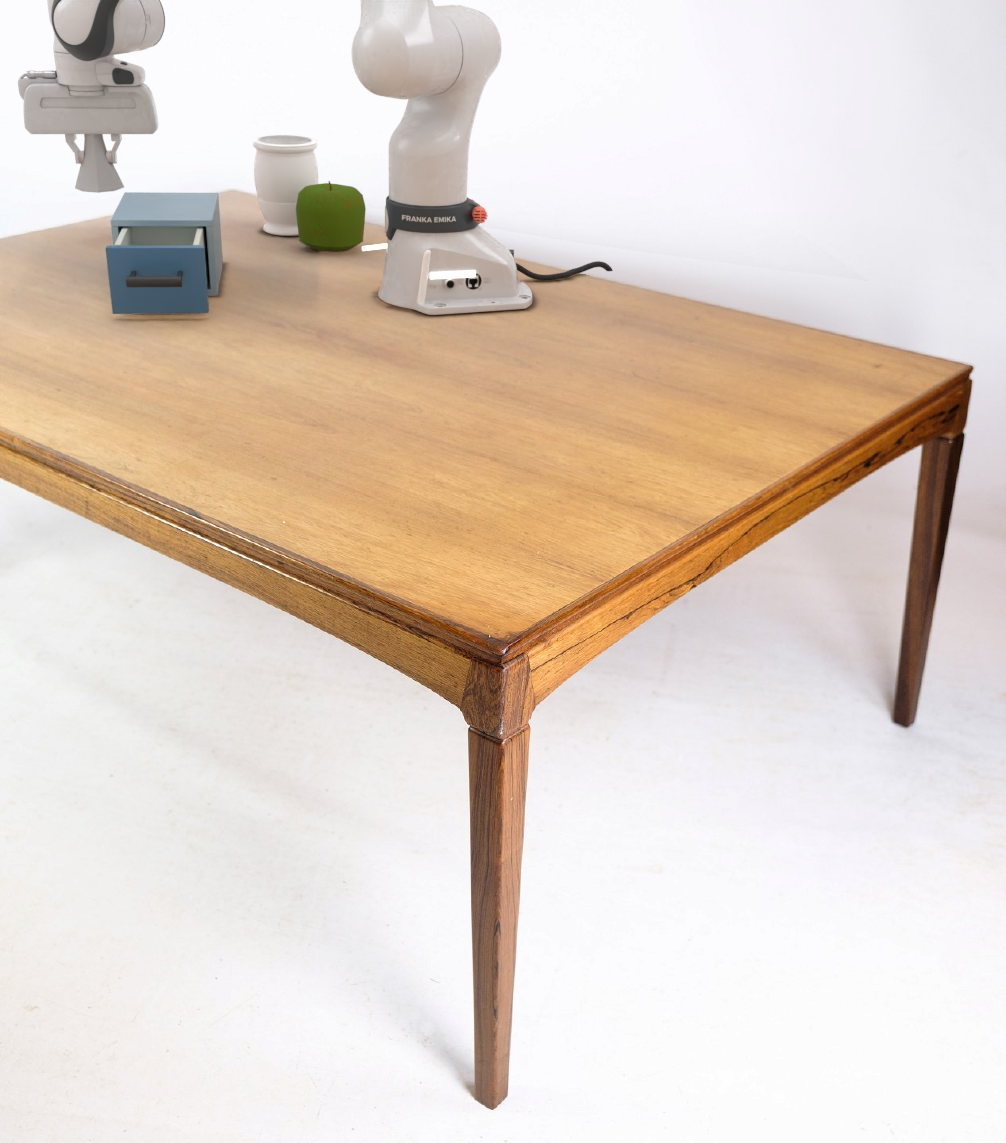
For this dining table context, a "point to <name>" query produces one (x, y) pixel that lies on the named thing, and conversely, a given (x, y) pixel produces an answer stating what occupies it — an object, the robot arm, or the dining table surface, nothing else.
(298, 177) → the jar
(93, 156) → the flask
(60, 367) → the dining table surface
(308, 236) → the apple
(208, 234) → the cabinet
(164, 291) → the drawer
